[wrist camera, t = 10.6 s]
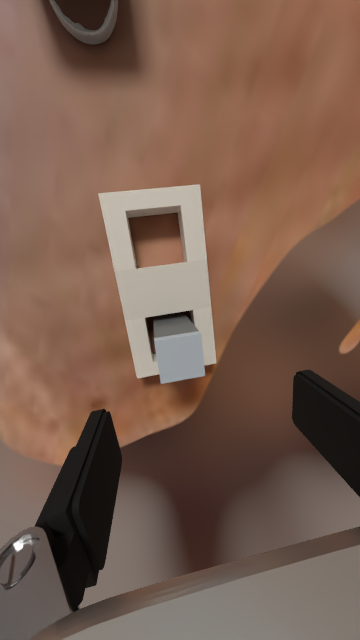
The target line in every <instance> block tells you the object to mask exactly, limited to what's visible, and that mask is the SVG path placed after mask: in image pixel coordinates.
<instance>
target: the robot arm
mask: <svg viewBox="0 0 360 640" xmlns="http://www.w3.org/2000/svg"><path fill="white" fill-rule="evenodd" d="M292 419H293V422H294V424H295V425H296V427H297V428H298V429H299V430H300V431H301V432H302V433H303V435H304V436H305V437H306V438H307V439H308V440H309V441H310V442H311V443H312V445H313V446H314V447H315V448H316V449H317V450H318V451H319V452H320V453H321V455H322V456H323V457H324V458H325V459H326V460H327V461H328V462H329V463H330V464H331V466H332V467H333V468H334V469H335V470H336V471H337V472H338V474H339V475H340V476H341V477H342V478H343V479H344V480H345V481H346V482H347V484H348V485H349V486H350V487H351V488H352V489H353V490H354V491H355V492H356V494H357V495H358V496H359V497H360V402H359V401H357V400H356V399H354V398H353V397H351V396H350V395H348V394H346V393H345V392H343V391H342V390H340V389H338V388H337V387H336V386H334V385H333V384H331V383H330V382H328V381H326V380H325V379H323V378H322V377H320V376H319V375H317V374H316V373H314V372H313V371H311V370H304V371H299V372H297V373H296V375H295V376H294V382H293V412H292ZM121 465H122V455H121V451H120V447H119V443H118V440H117V436H116V432H115V429H114V425H113V421H112V418H111V414H110V412H109V411H108V412H106V410H105V409H102V410H96V411H92V412H91V413H90V416H89V418H88V420H87V422H86V425H85V427H84V429H83V431H82V434H81V436H80V438H79V440H78V443H77V445H76V447H73V448H72V449H71V450H70V452H69V454H68V456H67V458H66V460H65V462H64V464H63V466H62V469H61V471H60V473H59V475H58V477H57V479H56V482H55V484H54V486H53V488H52V490H51V492H50V494H49V497H48V499H47V501H46V503H45V505H44V507H43V510H42V512H41V514H40V516H39V518H38V520H37V522H36V524H35V527H30V528H27V529H25V530H23V531H21V532H19V533H18V534H17V535H15V536H14V537H12V538H11V539H10V540H9V541H8V542H7V543H6V544H5V545H4V546H3V547H2V548H1V549H0V640H360V527H356V528H353V529H349V530H345V531H342V532H338V533H334V534H331V535H327V536H323V537H319V538H316V539H312V540H308V541H305V542H301V543H298V544H294V545H290V546H287V547H283V548H279V549H276V550H272V551H269V552H265V553H261V554H258V555H254V556H251V557H247V558H243V559H240V560H236V561H233V562H230V563H226V564H222V565H219V566H215V567H212V568H209V569H205V570H201V571H197V572H194V573H190V574H187V575H184V576H180V577H177V578H173V579H169V580H166V581H163V582H159V583H156V584H153V585H149V586H146V587H143V588H140V589H137V590H133V591H130V592H127V593H124V594H120V595H117V596H114V597H111V598H108V599H105V600H102V601H100V602H97V603H95V604H92V605H89V606H87V607H84V608H82V609H80V607H79V605H80V603H81V602H82V600H83V596H84V591H85V588H87V587H91V586H95V585H96V583H97V578H98V573H99V570H102V569H103V568H104V565H105V560H106V554H107V548H108V542H109V536H110V530H111V525H112V519H113V512H114V507H115V500H116V494H117V489H118V483H119V477H120V471H121Z"/></svg>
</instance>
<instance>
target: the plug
mask: <svg viewBox="0 0 360 640" xmlns="http://www.w3.org/2000/svg"><path fill="white" fill-rule="evenodd" d="M153 322H154V343H155V350H156V356H157V362H158V368H159V375H160V381H161V384H164V383H169V382H175V381H180V380H185V379H191V378H196V377H202V376H205V368H204V357H203V346H202V336H201V333H200V332H199V330H198V329H197V328H196V327H195V326H194V324H193V323H192V322H191V321H190V320H189V318H188V317H187V316H186V315H185V314H184V313H182V314H175V315H168V316H161V317H154V318H153Z"/></svg>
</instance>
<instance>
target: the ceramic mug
mask: <svg viewBox="0 0 360 640" xmlns="http://www.w3.org/2000/svg"><path fill="white" fill-rule="evenodd" d="M49 1H50V4H51V5H52V7H53V9H54V11H55V13H56V15H57V17H58V18H59V20H60V21H61V23H62V24H63V26H64V27H65V28H66V30H67V31H68V32H69V33H70V34H71V35H72V36H74V37H75V38H76V39H78V40H79V41H81V42H83V43H86V44H93V45H95V44H100V43H103V42H105V41H106V40H107V39H108V38H109V37H110V35H111V34H112V31H113V29H114V26H115V24H116V19H117V13H118V0H111V3H110V7H109V10H108V13H107V16H106V17H105V20H104V23H103V24H102V26H101V27H100V28H99V29H98V30H88V29H86V28H84V27H83V26H82V25H81V24H79V23H73V22H72V21H71V20H70V18H68V17H66V16H65V15H64V14H63V13H62V11H61V10H60V8H59V6H58V5H57V3H56V2H55V0H49Z"/></svg>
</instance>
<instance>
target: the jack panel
mask: <svg viewBox="0 0 360 640" xmlns="http://www.w3.org/2000/svg"><path fill="white" fill-rule="evenodd" d="M99 199H100V204H101V208H102V213H103V218H104V223H105V227H106V232H107V237H108V242H109V246H110V251H111V256H112V261H113V266H114V270H115V275H116V280H117V285H118V289H119V294H120V299H121V304H122V308H123V313H124V318H125V323H126V328H127V332H128V337H129V342H130V347H131V351H132V356H133V361H134V366H135V370H136V375H137V378H142V377H147V376H153V375H158V374H159V368H158V362H157V356H156V354H153V352H152V347H151V341H150V336H149V330H148V325H147V319H146V317H152V316H158V315H165V314H171V313H177V312H184V311H190V319H191V322H192V323H193V324H194V326H195V327H196V328H197V329H198V330H199V332H200V333H201V336H202V346H203V357H204V366H205V365H210V364H215V363H216V353H215V343H214V332H213V321H212V310H211V299H210V289H209V278H208V267H207V256H206V245H205V235H204V224H203V213H202V202H201V191H200V184H199V185H188V186H177V187H166V188H155V189H144V190H132V191H121V192H110V193H99ZM169 213H178V221H179V229H180V237H181V245H182V253H183V263H175V264H168V265H160V266H153V267H145V268H138V269H137V264H136V258H135V253H134V247H133V242H132V236H131V231H130V225H129V220H128V218H131V217H140V216H150V215H160V214H169Z"/></svg>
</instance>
